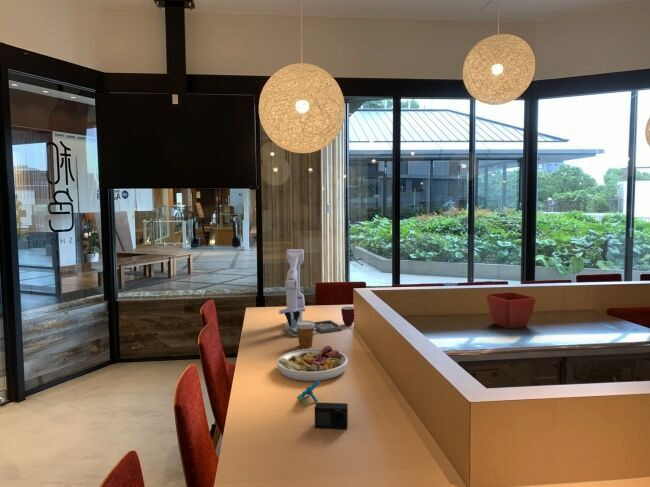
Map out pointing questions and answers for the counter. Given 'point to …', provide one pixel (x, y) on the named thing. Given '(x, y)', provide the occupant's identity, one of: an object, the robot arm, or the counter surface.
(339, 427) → the digital camera
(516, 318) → the plant pot
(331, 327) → the grey rectangular tray
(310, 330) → the disposable coffee cup
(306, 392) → the blue green plastic toy
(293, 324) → the lid
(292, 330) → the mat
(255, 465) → the counter surface
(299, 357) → the bowl
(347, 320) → the mug
